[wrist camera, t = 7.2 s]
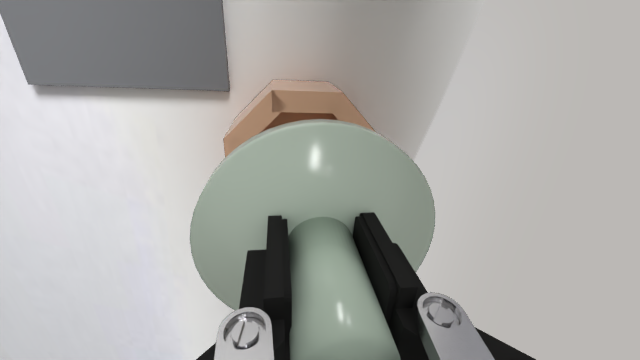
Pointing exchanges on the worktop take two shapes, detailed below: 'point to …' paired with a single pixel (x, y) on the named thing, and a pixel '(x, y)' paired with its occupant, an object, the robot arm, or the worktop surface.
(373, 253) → the robot arm
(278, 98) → the bowl
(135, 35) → the mat
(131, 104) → the worktop surface
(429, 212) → the lid
